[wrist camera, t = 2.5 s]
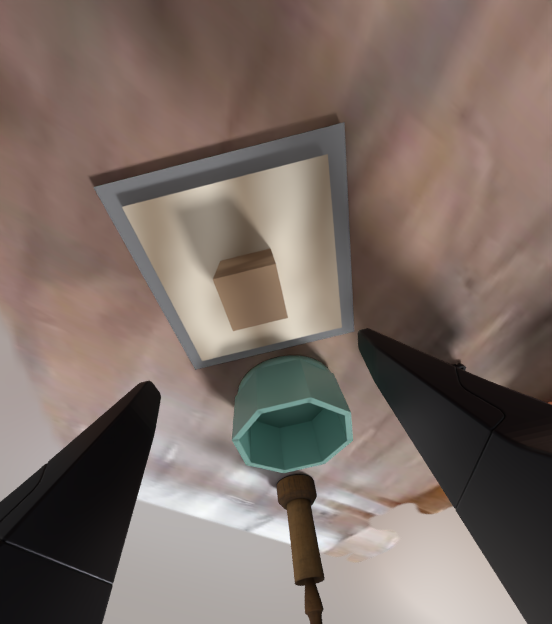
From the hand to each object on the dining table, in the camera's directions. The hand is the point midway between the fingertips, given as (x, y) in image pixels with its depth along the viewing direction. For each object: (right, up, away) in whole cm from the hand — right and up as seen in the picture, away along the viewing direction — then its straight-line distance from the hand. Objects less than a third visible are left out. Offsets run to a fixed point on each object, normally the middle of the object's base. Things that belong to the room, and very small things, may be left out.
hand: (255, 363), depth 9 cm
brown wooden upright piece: (+4, -28, +29) cm, 41 cm away
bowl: (+2, -8, +18) cm, 20 cm away
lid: (-1, +5, +9) cm, 11 cm away
